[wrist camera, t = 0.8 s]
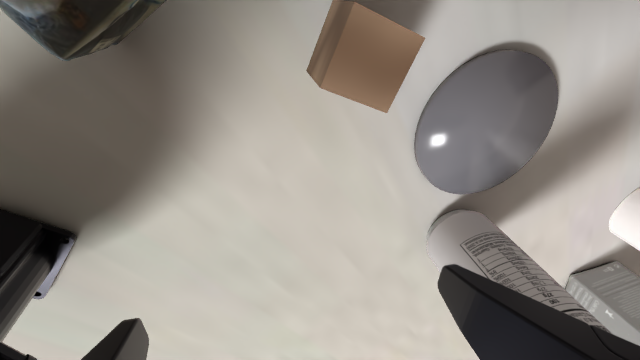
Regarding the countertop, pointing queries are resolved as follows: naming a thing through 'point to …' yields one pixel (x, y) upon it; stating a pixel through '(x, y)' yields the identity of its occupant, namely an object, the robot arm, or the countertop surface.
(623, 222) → the cylindrical container
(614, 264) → the skincare box
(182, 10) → the countertop surface
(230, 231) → the countertop surface
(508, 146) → the coaster
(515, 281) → the energy drink can
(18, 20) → the beverage carton
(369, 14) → the walnut block
